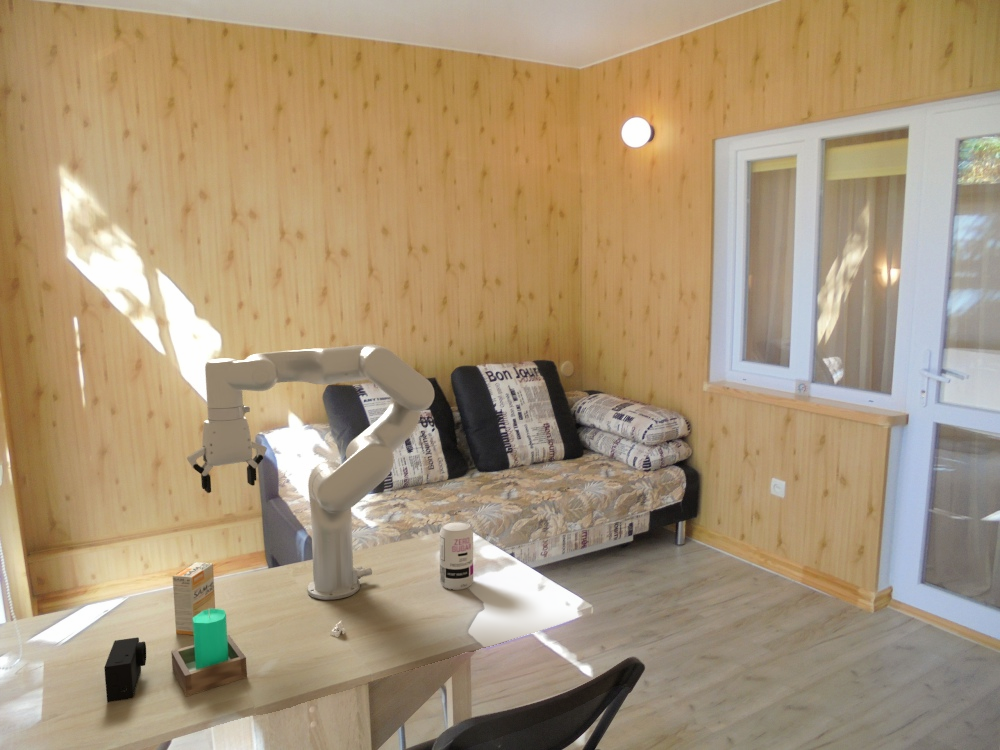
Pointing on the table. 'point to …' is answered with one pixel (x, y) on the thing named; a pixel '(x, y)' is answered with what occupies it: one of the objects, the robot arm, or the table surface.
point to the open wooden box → (207, 669)
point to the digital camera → (124, 668)
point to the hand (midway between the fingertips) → (229, 487)
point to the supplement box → (192, 594)
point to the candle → (210, 638)
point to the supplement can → (456, 555)
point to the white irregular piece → (338, 629)
